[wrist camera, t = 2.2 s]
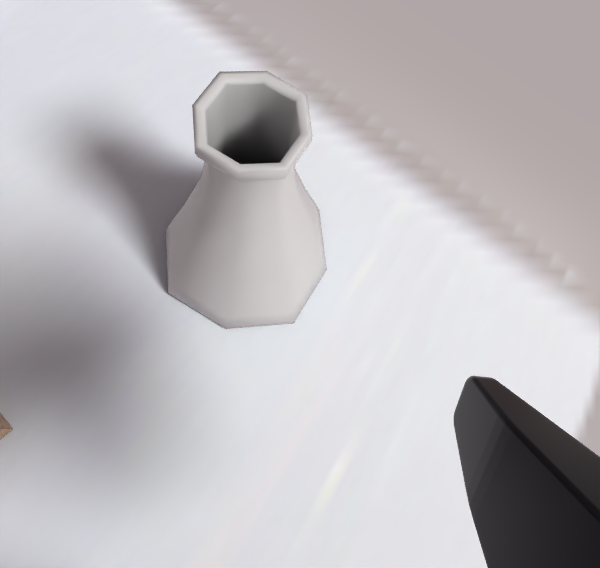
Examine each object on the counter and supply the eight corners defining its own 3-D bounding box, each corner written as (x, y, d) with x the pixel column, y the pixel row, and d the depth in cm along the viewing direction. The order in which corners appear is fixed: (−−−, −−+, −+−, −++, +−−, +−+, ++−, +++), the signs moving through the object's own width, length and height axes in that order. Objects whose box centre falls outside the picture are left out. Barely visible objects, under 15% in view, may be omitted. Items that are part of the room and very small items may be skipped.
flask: (189, 162, 24) (156, -22, 14) (340, 200, 24) (407, 45, 15) (141, 310, 22) (65, 210, 12) (309, 349, 22) (363, 282, 12)
